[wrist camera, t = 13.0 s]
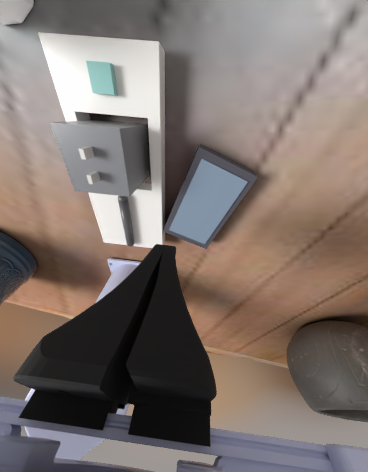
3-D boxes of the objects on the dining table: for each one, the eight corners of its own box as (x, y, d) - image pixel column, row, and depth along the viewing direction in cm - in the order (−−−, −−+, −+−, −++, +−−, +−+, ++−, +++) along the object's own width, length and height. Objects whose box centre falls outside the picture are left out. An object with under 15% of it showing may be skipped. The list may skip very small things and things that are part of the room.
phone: (206, 237, 22) (206, 249, 20) (166, 221, 21) (162, 232, 19) (251, 170, 16) (258, 177, 14) (199, 143, 15) (199, 147, 13)
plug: (149, 174, 17) (124, 202, 12) (109, 170, 17) (66, 195, 12) (146, 124, 15) (112, 129, 9) (99, 120, 15) (36, 122, 9)
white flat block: (165, 239, 23) (160, 254, 20) (110, 233, 23) (100, 247, 21) (164, 51, 12) (155, 35, 9) (59, 43, 12) (24, 25, 10)
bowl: (404, 320, 29) (510, 428, 19) (321, 349, 40) (361, 428, 30) (323, 294, 27) (396, 401, 17) (259, 333, 38) (280, 412, 28)
